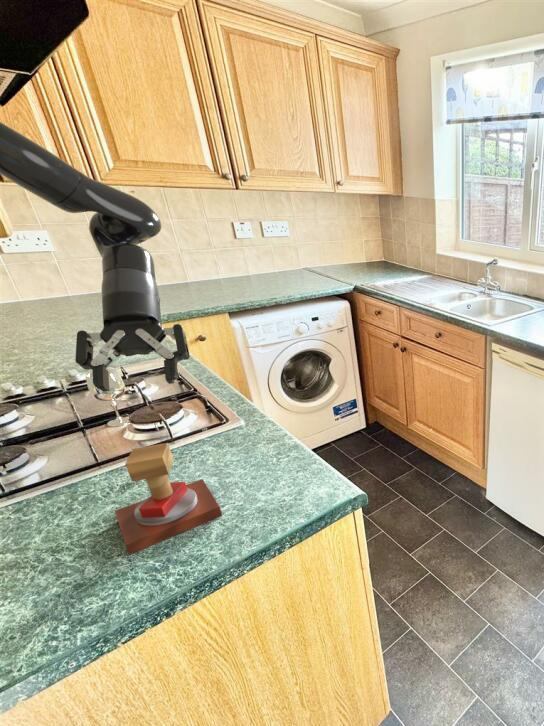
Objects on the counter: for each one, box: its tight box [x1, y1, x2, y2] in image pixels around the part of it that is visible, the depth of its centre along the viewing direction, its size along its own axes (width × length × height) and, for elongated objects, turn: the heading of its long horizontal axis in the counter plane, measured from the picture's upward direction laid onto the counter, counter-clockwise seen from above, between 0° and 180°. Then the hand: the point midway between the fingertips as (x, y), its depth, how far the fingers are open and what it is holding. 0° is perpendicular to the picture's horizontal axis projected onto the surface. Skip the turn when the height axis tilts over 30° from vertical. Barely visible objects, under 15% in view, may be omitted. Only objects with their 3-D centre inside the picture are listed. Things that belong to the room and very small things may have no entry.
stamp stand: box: [114, 478, 223, 555], centre depth 69 cm, size 12×10×2 cm
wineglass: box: [86, 368, 130, 428], centre depth 92 cm, size 6×6×12 cm
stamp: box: [125, 442, 198, 526], centre depth 66 cm, size 8×8×11 cm
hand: (138, 385), depth 69 cm, fingers open, 8 cm apart
